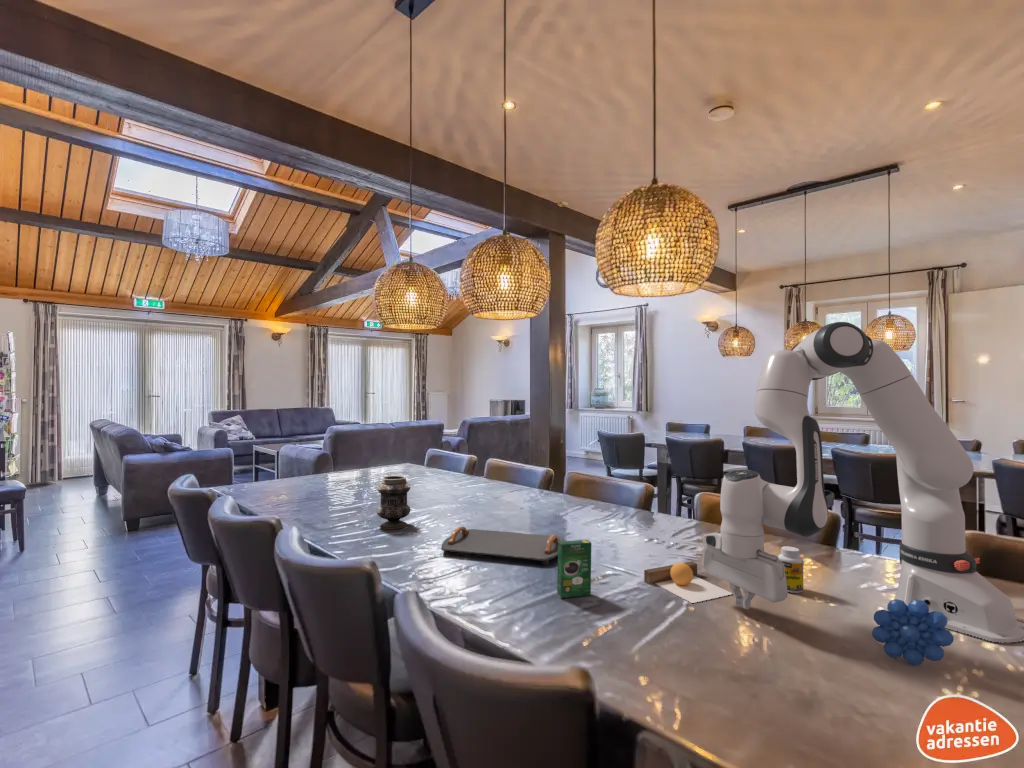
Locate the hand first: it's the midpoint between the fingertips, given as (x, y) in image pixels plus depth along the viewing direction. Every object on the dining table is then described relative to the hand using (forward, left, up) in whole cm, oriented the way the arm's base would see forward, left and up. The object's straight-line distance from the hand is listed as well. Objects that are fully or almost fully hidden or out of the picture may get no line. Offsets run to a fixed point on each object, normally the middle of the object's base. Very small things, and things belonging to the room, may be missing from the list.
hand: (742, 606), depth 111 cm
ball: (+18, +1, +1) cm, 18 cm away
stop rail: (+23, 0, -2) cm, 23 cm away
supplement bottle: (+5, -22, -2) cm, 23 cm away
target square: (+15, 0, -2) cm, 15 cm away
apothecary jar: (+105, +58, -2) cm, 120 cm away
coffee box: (+24, +29, -2) cm, 38 cm away
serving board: (+63, +31, -2) cm, 70 cm away
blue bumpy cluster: (-27, -12, -2) cm, 30 cm away
